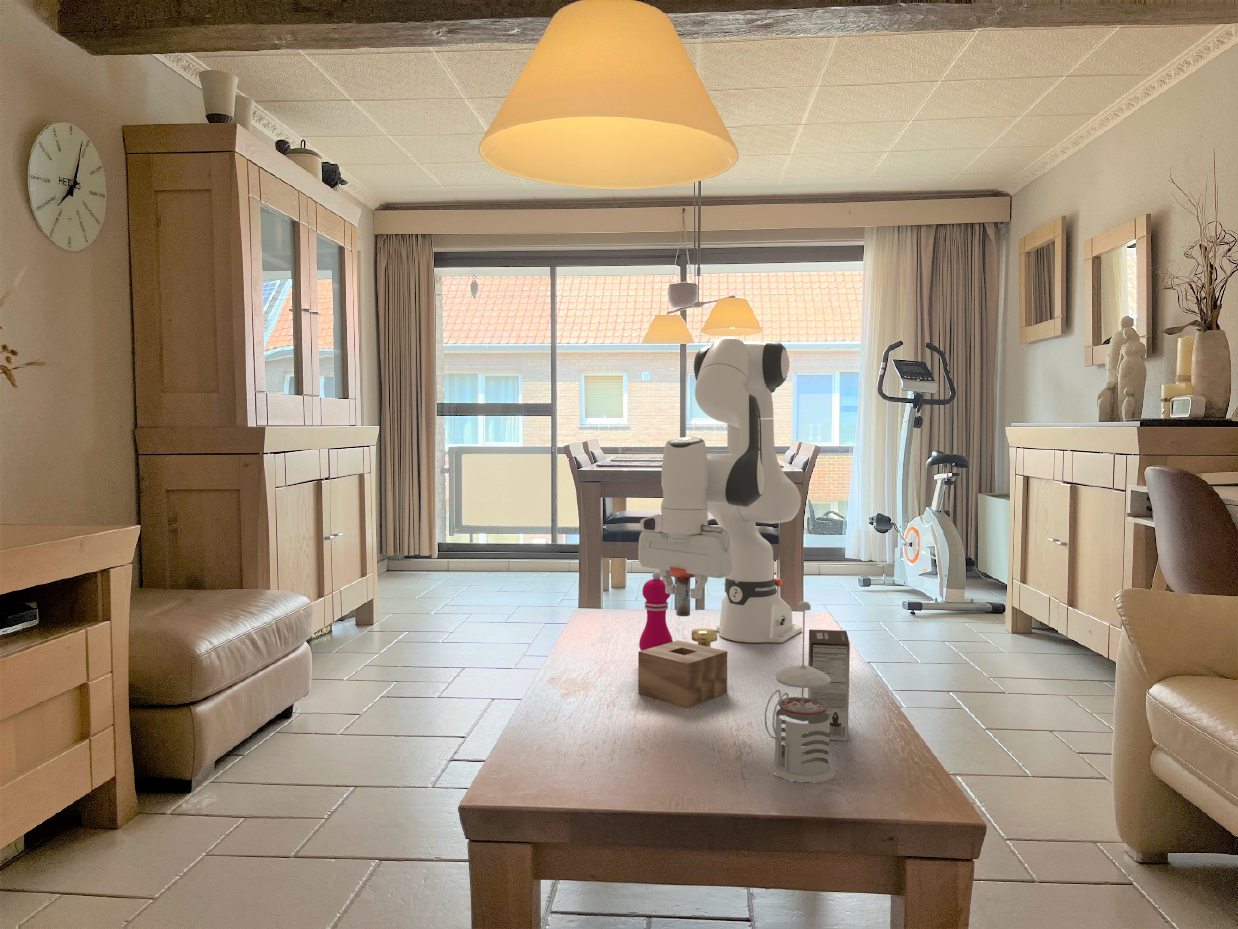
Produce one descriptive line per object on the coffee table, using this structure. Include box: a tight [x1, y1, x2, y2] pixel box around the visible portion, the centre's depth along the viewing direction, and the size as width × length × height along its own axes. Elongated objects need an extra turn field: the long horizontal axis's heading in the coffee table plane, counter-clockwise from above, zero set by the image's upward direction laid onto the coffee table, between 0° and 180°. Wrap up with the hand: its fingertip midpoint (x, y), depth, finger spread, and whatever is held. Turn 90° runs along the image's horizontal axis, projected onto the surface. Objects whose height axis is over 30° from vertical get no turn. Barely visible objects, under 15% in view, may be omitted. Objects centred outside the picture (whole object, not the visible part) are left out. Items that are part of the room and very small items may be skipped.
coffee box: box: [807, 629, 851, 742], centre depth 139 cm, size 9×6×16 cm
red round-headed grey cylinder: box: [670, 567, 695, 617], centre depth 158 cm, size 5×5×9 cm
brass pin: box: [691, 627, 718, 648], centre depth 171 cm, size 5×5×9 cm
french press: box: [764, 600, 837, 784], centre depth 123 cm, size 10×12×25 cm
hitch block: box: [637, 639, 728, 709], centre depth 159 cm, size 12×12×8 cm
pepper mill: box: [638, 571, 674, 651], centre depth 178 cm, size 7×7×20 cm
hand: (683, 595), depth 158 cm, fingers closed on red round-headed grey cylinder, 5 cm apart
